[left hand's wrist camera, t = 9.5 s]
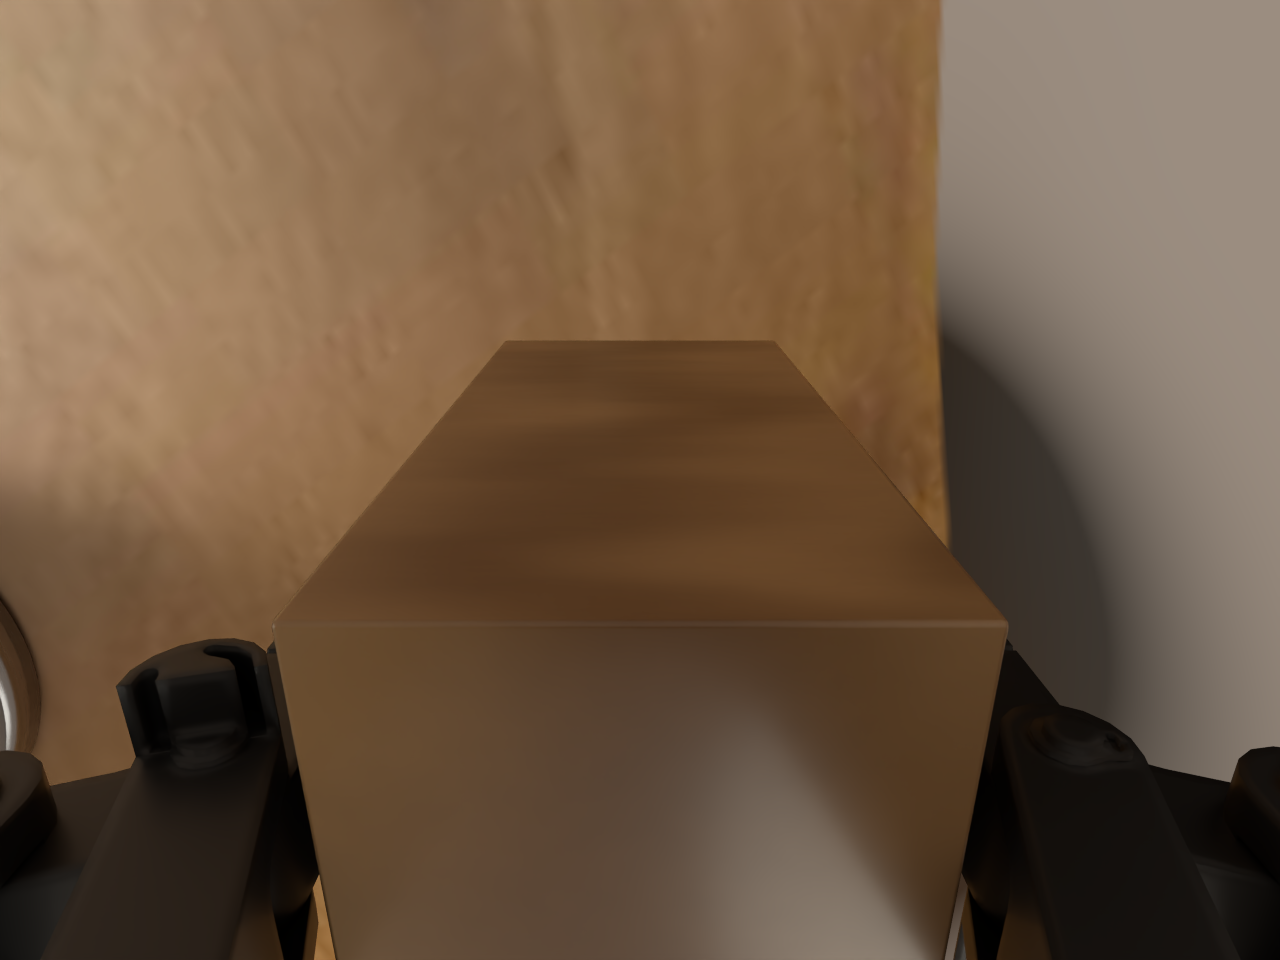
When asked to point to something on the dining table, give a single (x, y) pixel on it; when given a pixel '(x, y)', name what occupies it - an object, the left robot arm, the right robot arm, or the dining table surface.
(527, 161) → the dining table surface
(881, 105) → the dining table surface
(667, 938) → the block
